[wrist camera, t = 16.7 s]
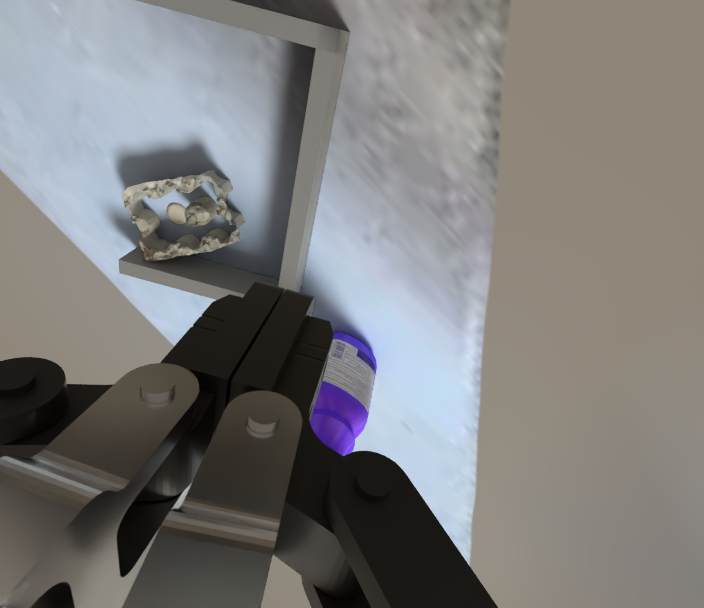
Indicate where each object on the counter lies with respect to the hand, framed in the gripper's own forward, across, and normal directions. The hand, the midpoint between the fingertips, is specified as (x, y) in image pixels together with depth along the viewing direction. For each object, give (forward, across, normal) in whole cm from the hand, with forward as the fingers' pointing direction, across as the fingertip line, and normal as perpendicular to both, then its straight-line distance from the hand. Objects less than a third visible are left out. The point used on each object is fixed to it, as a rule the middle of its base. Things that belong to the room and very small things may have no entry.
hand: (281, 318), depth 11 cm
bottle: (+31, -2, +24) cm, 39 cm away
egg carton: (+32, +17, +12) cm, 38 cm away
